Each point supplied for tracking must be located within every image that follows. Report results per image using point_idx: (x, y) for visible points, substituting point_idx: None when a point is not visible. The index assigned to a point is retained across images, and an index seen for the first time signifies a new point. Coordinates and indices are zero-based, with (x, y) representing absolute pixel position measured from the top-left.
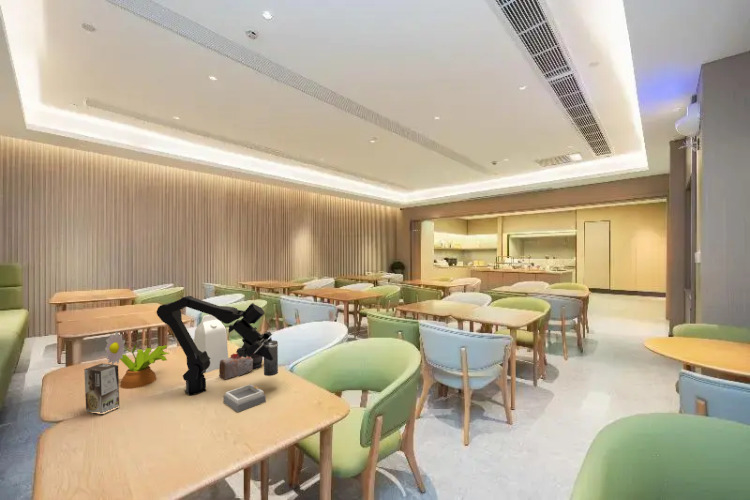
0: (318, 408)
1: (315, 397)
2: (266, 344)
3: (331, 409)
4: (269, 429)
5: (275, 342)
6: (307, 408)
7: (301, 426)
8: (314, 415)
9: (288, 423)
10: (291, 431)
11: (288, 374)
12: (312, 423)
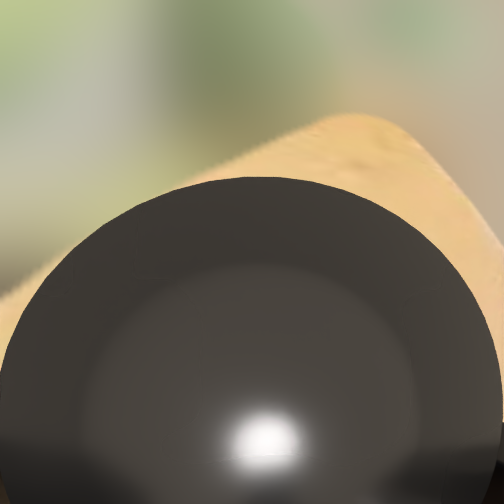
0: (392, 174)
1: (318, 173)
2: (480, 485)
3: (391, 144)
4: (491, 304)
5: (351, 242)
6: (397, 204)
7: (470, 224)
8: (427, 189)
9: (468, 258)
10: (488, 247)
11: (6, 305)
12: (456, 198)
